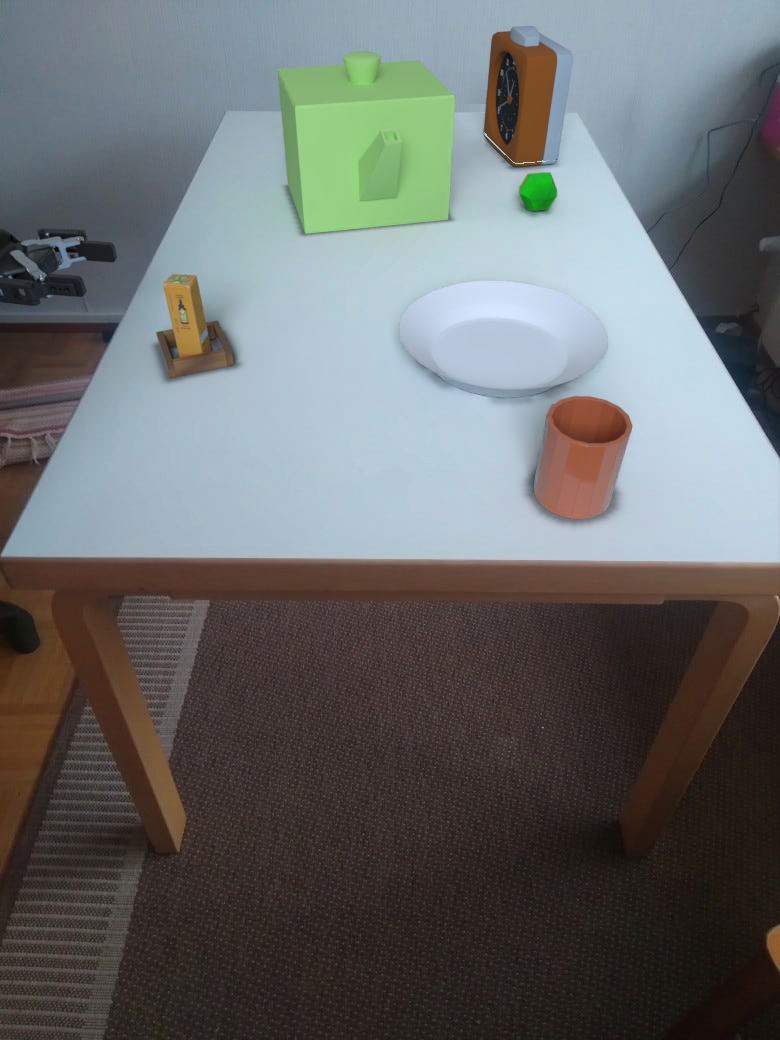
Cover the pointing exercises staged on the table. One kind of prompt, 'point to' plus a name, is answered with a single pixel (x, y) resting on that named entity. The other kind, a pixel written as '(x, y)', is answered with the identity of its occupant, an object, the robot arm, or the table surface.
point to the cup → (581, 456)
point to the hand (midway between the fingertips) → (99, 268)
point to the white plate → (503, 337)
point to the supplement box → (187, 315)
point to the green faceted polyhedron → (538, 191)
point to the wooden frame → (200, 360)
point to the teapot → (367, 143)
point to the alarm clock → (527, 95)
